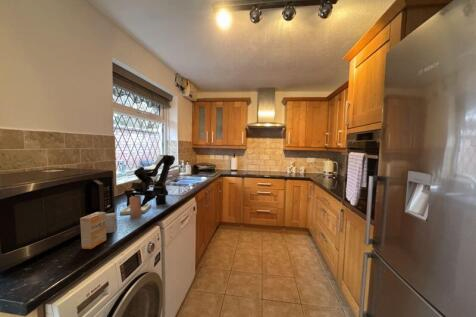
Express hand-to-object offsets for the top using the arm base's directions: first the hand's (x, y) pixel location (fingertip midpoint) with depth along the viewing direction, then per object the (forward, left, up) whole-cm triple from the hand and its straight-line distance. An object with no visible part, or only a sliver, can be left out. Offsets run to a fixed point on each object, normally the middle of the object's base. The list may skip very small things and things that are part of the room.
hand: (134, 206), depth 118 cm
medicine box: (+7, +19, -7) cm, 21 cm away
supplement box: (+6, +32, -7) cm, 33 cm away
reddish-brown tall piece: (0, -1, -7) cm, 7 cm away
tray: (+4, -14, -7) cm, 16 cm away
